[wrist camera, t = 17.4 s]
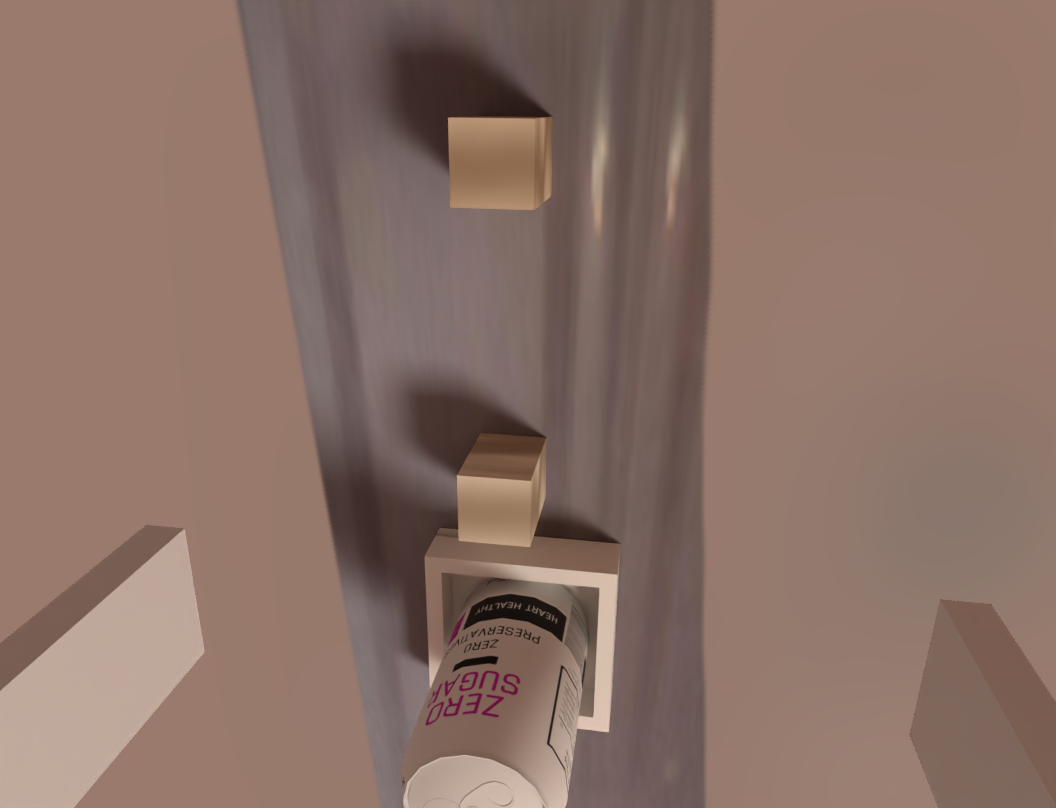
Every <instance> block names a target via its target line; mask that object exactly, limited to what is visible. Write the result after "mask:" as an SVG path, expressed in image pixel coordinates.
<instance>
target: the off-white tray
mask: <svg viewBox="0 0 1056 808" xmlns="http://www.w3.org/2000/svg"><path fill="white" fill-rule="evenodd" d="M620 546H621V544H617V543H606V542H594V541H583V540H572V539H561V538H550V537H538V536H533V540H532V543H531V546H530V547H521V546H510V545H499V544H488V543H477V542H465V541H459V534H458V529H449V528H439V530H438V532H437V534H436V536H435V538H434V539H433V541H432V543H431V545H430V547H429V549H428V551H427V553H426V555H425V580H426V604H427V627H428V651H429V674H430V689H431V686H432V684H433V681H434V679H435V676H436V674H437V671H438V669H439V666H440V664H441V661H442V659H443V656H444V654H445V651H446V649H447V646H448V644H449V641H450V639H451V636H452V634H453V631H454V629H455V626H456V624H457V621H458V619H459V616H460V614H461V611H462V609H463V606H464V604H465V601H466V600H467V598H468V597H469V596H470V595H471V593H472V592H473V591H474V589H475V588H476V587H477V586H478V585H480V584H481V583H483V582H485V581H487V580H488V579H490V578H492V577H493V578H503V579H514V580H524V581H534V582H545V583H555V584H560V585H562V586H563V587H564V588H565V589H566V590H567V591H568V592H569V593H570V594H571V595H573V596H574V597H575V598H576V599H577V600H578V602H579V604H580V605H581V607H582V609H583V611H584V613H585V615H586V617H587V619H588V628H589V646H588V653H587V660H586V667H585V674H584V682H583V689H582V696H581V703H580V710H579V718H578V725H577V728H578V729H587V730H595V731H603V732H609V722H610V711H611V699H612V685H613V667H614V650H615V633H616V615H617V598H618V580H619V563H620Z"/></svg>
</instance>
